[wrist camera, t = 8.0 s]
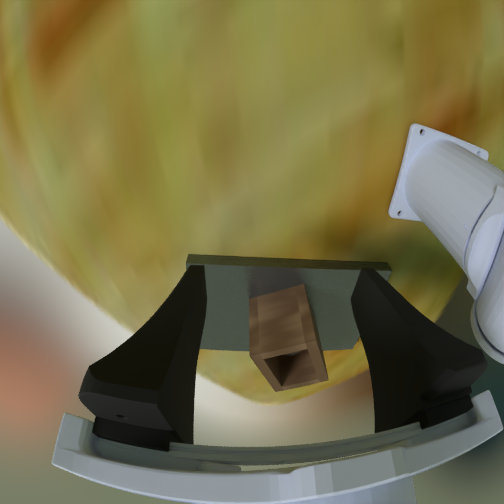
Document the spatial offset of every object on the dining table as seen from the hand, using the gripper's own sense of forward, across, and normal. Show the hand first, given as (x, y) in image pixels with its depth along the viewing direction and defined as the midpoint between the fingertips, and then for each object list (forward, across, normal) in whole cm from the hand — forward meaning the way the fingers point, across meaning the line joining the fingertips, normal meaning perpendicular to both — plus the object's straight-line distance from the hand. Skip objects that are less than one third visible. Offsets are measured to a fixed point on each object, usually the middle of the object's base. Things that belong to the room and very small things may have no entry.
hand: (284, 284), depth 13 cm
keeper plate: (+9, -2, +12) cm, 15 cm away
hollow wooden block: (+8, -2, +12) cm, 14 cm away
